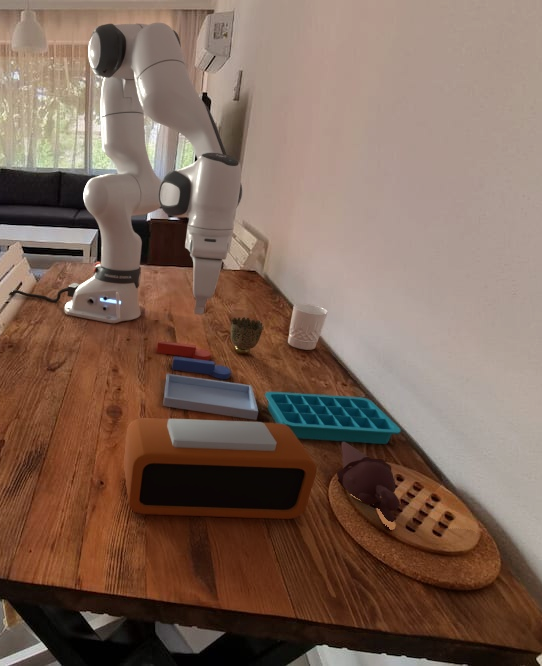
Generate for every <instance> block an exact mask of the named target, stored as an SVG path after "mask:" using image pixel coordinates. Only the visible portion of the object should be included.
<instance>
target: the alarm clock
mask: <svg viewBox="0 0 542 666" xmlns="http://www.w3.org/2000/svg"><path fill="white" fill-rule="evenodd" d="M123 455H124V457H123V470H124V477H125V478H124V479H125V486H126V495H127V503H128V506H129V508H130V509H131V510H132V511H133V512H134V513H137V514H139V515H153V516H154V515H158V516H182V517H183V516H187V517H213V518H216V517H217V518H245V519H269V520H270V519H272V520H273V519H275V520H278V519H279V520H293V519H296V518H299V517H300V516H301V515H302V514H303V513H305V510H306V509H307V505H308V502H309V499H310V496H311V492H312V490H313V485H314V483H315V479H316V476H317V472H318V466H317V464H316V461H315V460H314V459H313V458H312V456H311V455H310V453H309V452H308V451H307V449H306V448H305V446H304V445H303V444H302V442H301V441H300V439H299V438H297V437H296V435H295V434H294V433H293V431H292V430H291V429H290V427H288V426H287V425H285V424H280V423H276V422H262V421H244V420H217V419H215V420H214V419H191V418H190V419H189V418H187V419H186V418H153V417H152V418H150V417H149V418H147V417H141V418H136V419H133V420H132V421H131V422H130V423H129V424H128V426H127V429H126V435H125V447H124V454H123Z"/></svg>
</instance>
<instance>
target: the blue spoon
mask: <svg viewBox="0 0 542 666" xmlns="http://www.w3.org/2000/svg"><path fill="white" fill-rule="evenodd" d="M171 370H173V371H180V372H188V373H195V374H203V375H210V376H212V377H213V378H215V379H218V380H228V379H230V378H231V375H232V370H231V369H230V368H229V367H227V366H224V365H220V364H219V365H217V364H216V362H215V361H212V360H208V361H206V360H198V359H194V358H192V357H184V356H176V355H173V358H172V366H171Z"/></svg>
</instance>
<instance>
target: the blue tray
mask: <svg viewBox="0 0 542 666" xmlns="http://www.w3.org/2000/svg"><path fill="white" fill-rule="evenodd" d="M162 405H163V406H162V407H168V408H174V409H181V410H186V411H192V412H193V411H194V412H200V413H201V412H202V413H207V414H208V413H209V414H213V415H221V416H227V417H233V418H240V419H246V420H247V419H248V420H253V421H254V420H255V421H257V420H258V415H259V410H258V409H259V408H258V403H257V401H256V396H255V392H254V389H253V386H252V385H250V384H245V383H236V382H230V381H223V380H216V379H215V380H214V379H208V378H201V377H193V376H187V375H179V374H174V373H173V374H172V373H171V374H170V373H166V376H165V386H164V395H163V403H162Z"/></svg>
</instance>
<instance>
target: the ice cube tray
mask: <svg viewBox="0 0 542 666" xmlns="http://www.w3.org/2000/svg"><path fill="white" fill-rule="evenodd" d="M264 397H265V398H266V400H267V401H268V405H267V411H268V412H269V415H270V416H271V417H272V418H273V421H274V423H280V424H285V425H287V426H288V427H290V429H291V430H292V431H293V433H294V434H295V435H296V437H297V438H298V439H303V440H304V439H305V440H318V441H319V440H320V441H334V442H336V441H337V442H347V443H348V442H349V443H364V444H380V445H386V444H388V443H389V441H390V439H391V437H392V435H399V434H401V431H402V429H401V428H400V427H399V426H398V425H397V424H396V423H395V422H394V421H393V420H392V419H391V418H390V417H389V416H388V415H387V414H386V413H385V412H384V411H383V410H382V409H381V408H380V407H378V406H377V404H376V403H375V402H373V400H371V399H370V398H366V397H361V396H345V395H332V394H331V395H329V394H316V393H315V394H314V393H298V392H285V391H284V392H283V391H266V392H265V394H264Z"/></svg>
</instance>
